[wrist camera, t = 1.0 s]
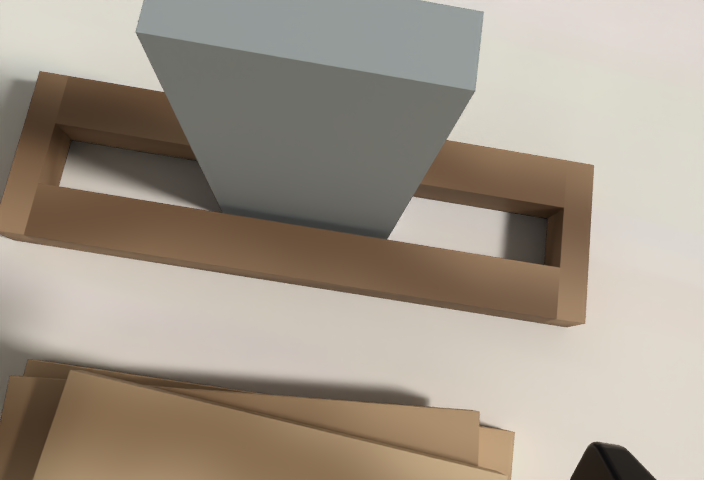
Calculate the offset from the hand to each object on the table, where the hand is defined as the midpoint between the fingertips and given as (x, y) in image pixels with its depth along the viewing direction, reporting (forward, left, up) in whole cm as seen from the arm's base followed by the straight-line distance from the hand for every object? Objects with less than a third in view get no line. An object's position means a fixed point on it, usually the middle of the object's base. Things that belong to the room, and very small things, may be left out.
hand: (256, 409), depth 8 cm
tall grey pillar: (+3, +6, -13) cm, 15 cm away
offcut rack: (+1, +2, -13) cm, 13 cm away
